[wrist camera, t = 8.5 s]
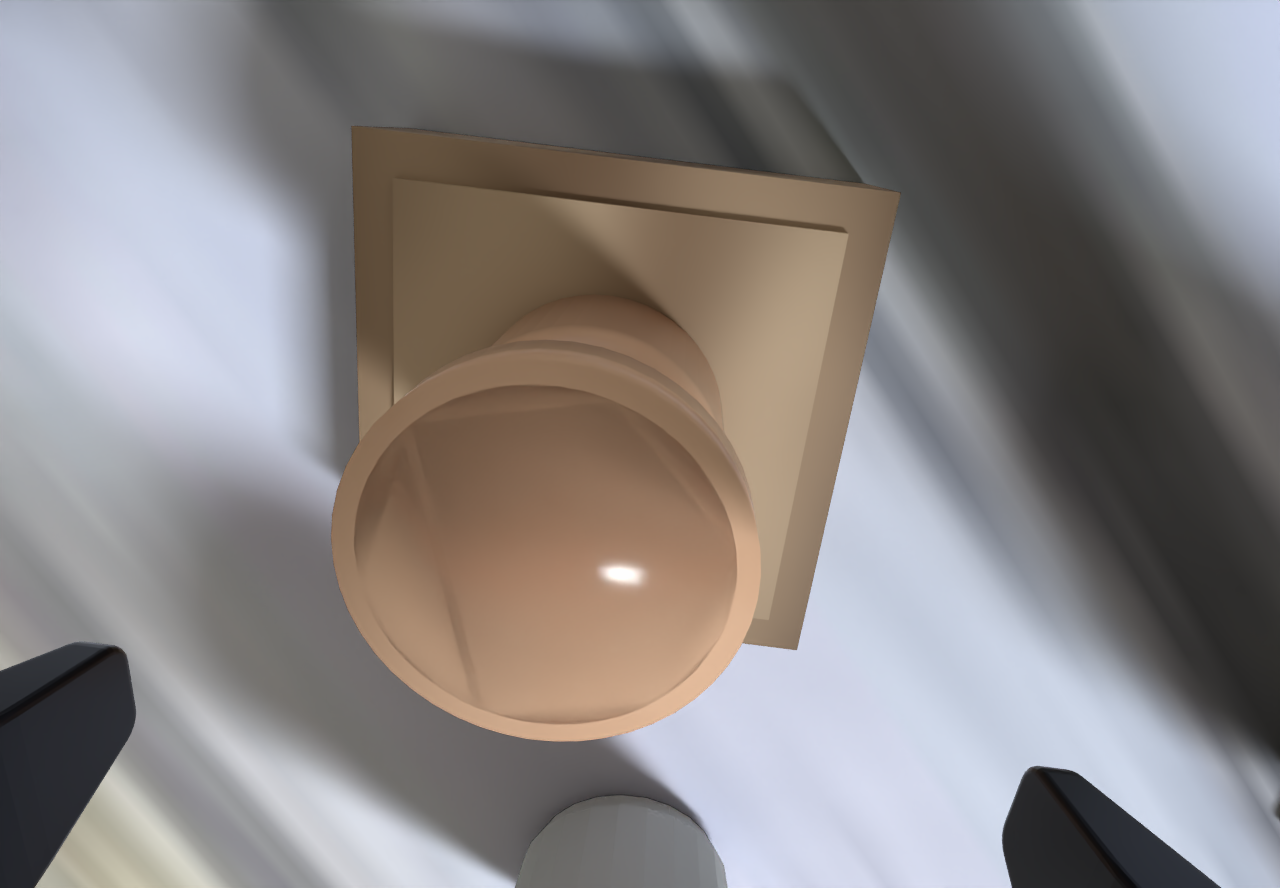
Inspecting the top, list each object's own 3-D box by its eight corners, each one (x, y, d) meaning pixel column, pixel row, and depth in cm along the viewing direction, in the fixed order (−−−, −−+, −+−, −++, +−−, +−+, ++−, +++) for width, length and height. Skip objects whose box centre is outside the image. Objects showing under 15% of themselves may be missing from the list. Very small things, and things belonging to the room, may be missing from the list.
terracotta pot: (760, 300, 15) (800, 393, 9) (713, 558, 17) (723, 767, 11) (466, 260, 15) (325, 328, 9) (456, 522, 17) (336, 711, 11)
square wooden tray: (864, 183, 17) (903, 193, 14) (781, 580, 20) (797, 654, 17) (407, 128, 17) (347, 125, 14) (407, 532, 20) (360, 598, 18)
